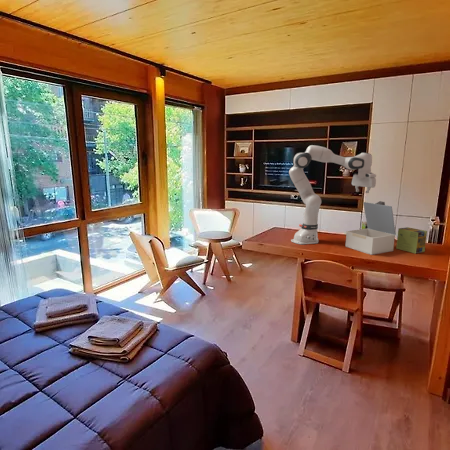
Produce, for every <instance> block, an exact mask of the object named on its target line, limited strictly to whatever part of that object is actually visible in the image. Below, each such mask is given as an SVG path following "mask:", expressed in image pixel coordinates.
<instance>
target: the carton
mask: <svg viewBox="0 0 450 450" xmlns="http://www.w3.org/2000/svg"><path fill="white" fill-rule="evenodd" d="M345 236H346V237H345V248H349V249H353V250H354V251H358V252H361V253H364V254H367V255H371V256H372V255H373V256H374V255H380V254H384V253H389V252H394V248H395V247H394V246H395V237H396V235H393V234H389V233H385V232H381V231H376V230H372V229H368V228H367V229H362V228H361V229H353V230H346V234H345Z"/></svg>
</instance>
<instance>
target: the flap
mask: <svg viewBox="0 0 450 450" xmlns="http://www.w3.org/2000/svg"><path fill="white" fill-rule="evenodd" d="M363 208H364V215H365V220H366V221H367V227H368V229H372V230H377V231H381V232H385V233H389V234H393V235H395V236H396V233H397V232H396V227H395V226H396V224H395V219H394V212H393V205H392V206H391V205H386V203H385V201H381V200H380V201H377V202H376V203H372V202H366V201H365V202H363Z"/></svg>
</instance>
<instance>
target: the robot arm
mask: <svg viewBox="0 0 450 450" xmlns="http://www.w3.org/2000/svg"><path fill="white" fill-rule="evenodd" d="M311 161H316V162H321V163H325V164H326V163H327V164H328V163H332V164H333V163H334V164H337V165H340V166H342V167H344V169H346V170H350V171H351V170H357V172H358V173H354V174H353V176H352V179H351V185H352V186H353V187H354V186H355V192H356V193H359V192H360V189H359V187H364V188H367V189H366V190H365V193H366V194H369V193H370V191H371V188H375V187H376V184H377V179H376V178H377V174H376V173H373V172H372V163H373V156H372V154H371V153H369V152H368V153H367V152H365V151H364V152H361V153H359V154H357V155H355V156H346V157H345V156H341V155H339V154H336V153H334V152H333V151H332V150H331V149H329V148H327V147H325V146H320V145H315V144H314V145H313V144H311V145H309V146H308V147H307V148H306V150H305V151H304V152H300V151H299V152H297V153H296V154H295V155H294V156H293V159H292V163H293V165H292V167H290V169H289V171H288V174H289V177H290V180H291V182H292V183H293V185H294V187H295V188H296V190H297V192H298V193H299V196H300V198H301V200H302V202H303V204H304V205H305V210H304V212H303V220H302V221H303V222H302V224H301V223H300V224H298V225H299V226H298V227H300V229H299V230H297V231H296V232H295V233H294V236H293V238H291V239H290V241H291V243H295V244H297V245H311V244H319V237H318V235H319V234H318V229H319V223H318V220H319V219H318V218H319V211H320V207H321V204H322V198H321V196H320V195H318V194H316V193H315V191H314V189H313V187H312V184H311V182H310V181H309V179H308V177H307V175H306V174H305V172H304V169H305V168H307V167H308V166H309V164H310V162H311Z"/></svg>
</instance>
